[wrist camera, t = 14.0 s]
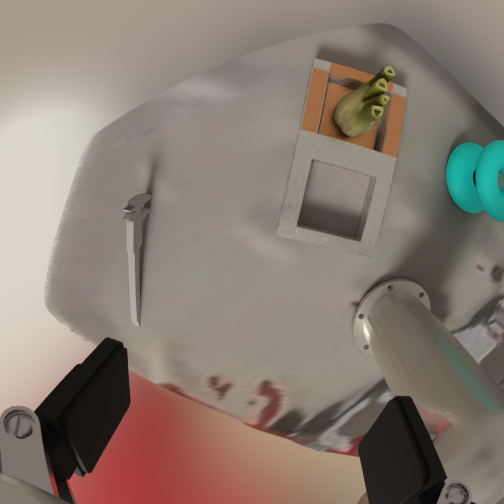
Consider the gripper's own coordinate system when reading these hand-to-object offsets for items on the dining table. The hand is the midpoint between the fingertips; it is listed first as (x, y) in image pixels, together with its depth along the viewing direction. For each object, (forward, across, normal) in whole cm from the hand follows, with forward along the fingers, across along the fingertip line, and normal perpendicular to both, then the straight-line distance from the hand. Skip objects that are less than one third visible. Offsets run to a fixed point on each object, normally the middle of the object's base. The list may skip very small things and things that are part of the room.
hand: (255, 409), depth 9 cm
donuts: (+29, -26, -15) cm, 41 cm away
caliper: (+29, +17, +8) cm, 34 cm away
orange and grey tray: (+28, -6, -12) cm, 31 cm away
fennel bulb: (+28, -7, -17) cm, 34 cm away
